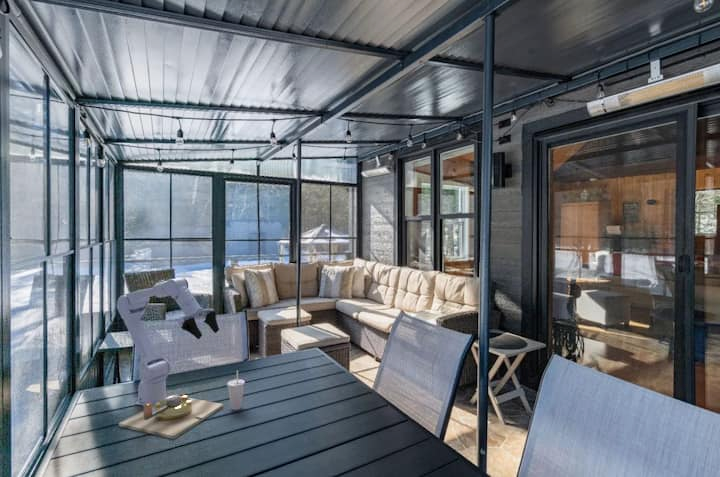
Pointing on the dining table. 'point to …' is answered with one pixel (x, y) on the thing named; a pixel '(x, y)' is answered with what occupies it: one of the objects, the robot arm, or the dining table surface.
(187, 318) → the robot arm
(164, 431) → the base plate
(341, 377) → the dining table surface
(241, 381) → the smoothie
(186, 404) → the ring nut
